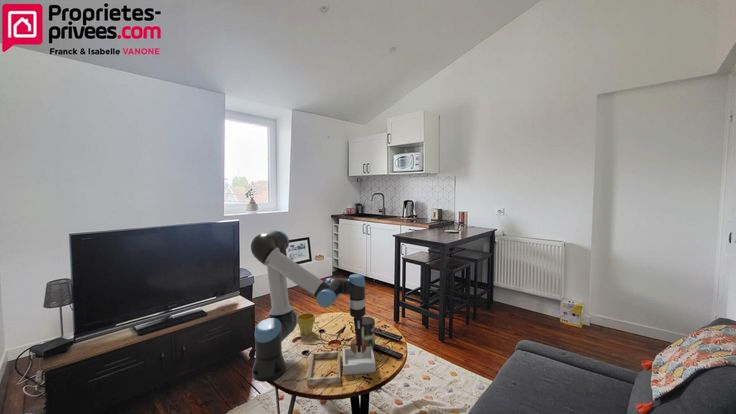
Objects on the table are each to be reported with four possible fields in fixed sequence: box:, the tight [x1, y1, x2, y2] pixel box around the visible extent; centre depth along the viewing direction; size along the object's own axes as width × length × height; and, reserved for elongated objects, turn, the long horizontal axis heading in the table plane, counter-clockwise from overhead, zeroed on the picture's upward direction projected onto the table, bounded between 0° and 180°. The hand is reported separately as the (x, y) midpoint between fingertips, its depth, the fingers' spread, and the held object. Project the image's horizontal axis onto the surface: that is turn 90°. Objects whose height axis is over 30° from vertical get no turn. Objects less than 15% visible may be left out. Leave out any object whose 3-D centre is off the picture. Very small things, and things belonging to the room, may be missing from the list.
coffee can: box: [361, 316, 376, 350], centre depth 161 cm, size 10×10×14 cm
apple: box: [350, 337, 367, 354], centre depth 144 cm, size 8×8×8 cm
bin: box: [342, 346, 377, 376], centre depth 144 cm, size 15×15×4 cm
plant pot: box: [297, 312, 316, 336], centre depth 177 cm, size 10×10×10 cm
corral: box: [306, 350, 341, 386], centre depth 141 cm, size 14×21×2 cm
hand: (358, 352), depth 144 cm, fingers closed on apple, 8 cm apart
